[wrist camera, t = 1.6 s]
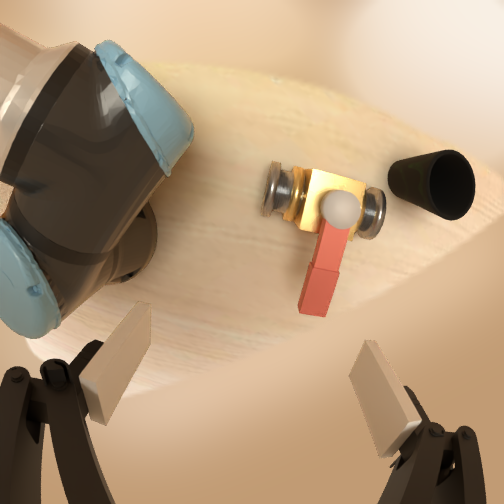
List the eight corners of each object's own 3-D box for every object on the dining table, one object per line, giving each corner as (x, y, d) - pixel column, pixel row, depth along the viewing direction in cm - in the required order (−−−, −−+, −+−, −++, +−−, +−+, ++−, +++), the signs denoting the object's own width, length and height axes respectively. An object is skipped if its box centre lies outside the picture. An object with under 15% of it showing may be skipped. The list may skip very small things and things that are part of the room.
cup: (428, 199, 36) (478, 212, 24) (386, 210, 36) (432, 227, 25) (418, 149, 34) (469, 146, 22) (375, 157, 34) (420, 154, 23)
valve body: (260, 211, 37) (261, 224, 28) (271, 162, 35) (275, 158, 26) (359, 233, 37) (388, 253, 28) (370, 187, 36) (403, 193, 26)
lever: (324, 185, 26) (329, 186, 24) (358, 194, 26) (364, 196, 25) (293, 304, 30) (296, 313, 28) (325, 309, 30) (329, 318, 28)
